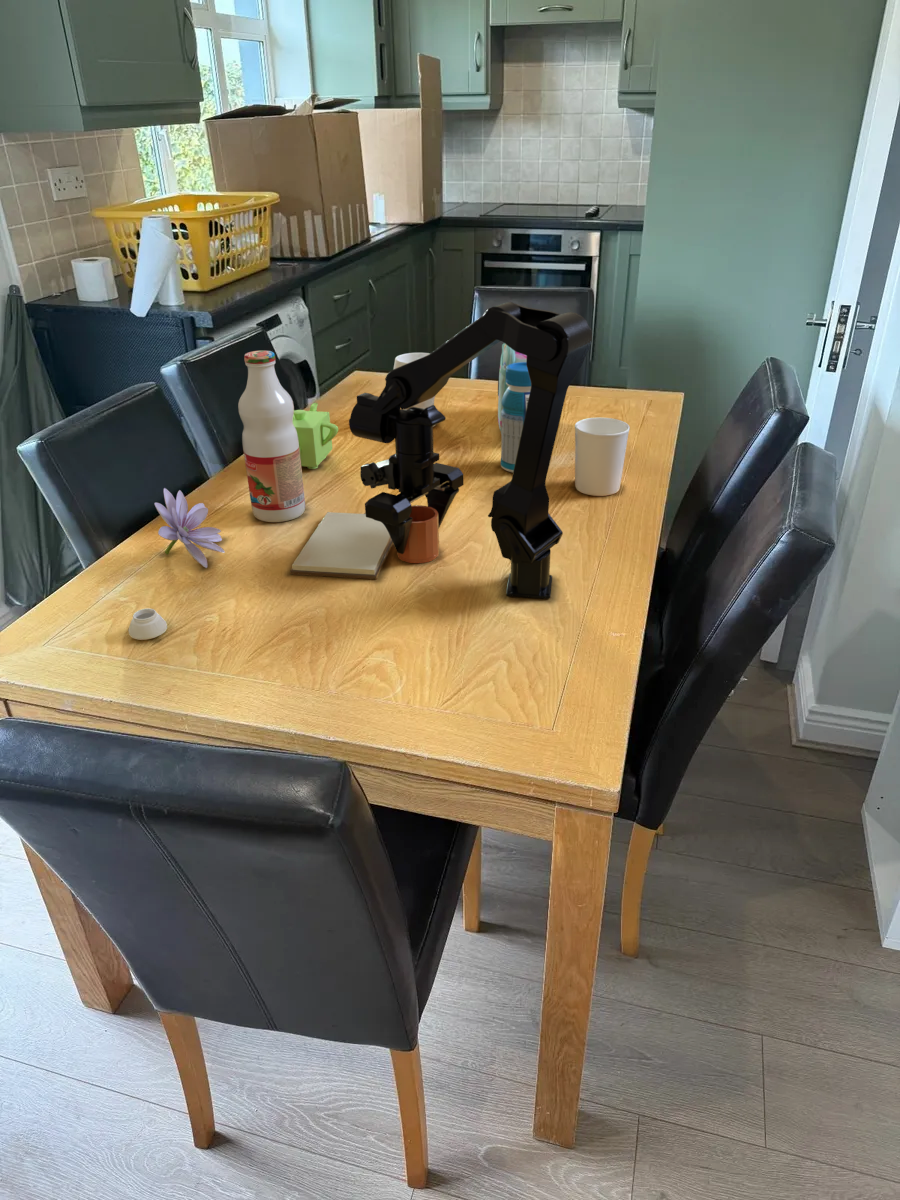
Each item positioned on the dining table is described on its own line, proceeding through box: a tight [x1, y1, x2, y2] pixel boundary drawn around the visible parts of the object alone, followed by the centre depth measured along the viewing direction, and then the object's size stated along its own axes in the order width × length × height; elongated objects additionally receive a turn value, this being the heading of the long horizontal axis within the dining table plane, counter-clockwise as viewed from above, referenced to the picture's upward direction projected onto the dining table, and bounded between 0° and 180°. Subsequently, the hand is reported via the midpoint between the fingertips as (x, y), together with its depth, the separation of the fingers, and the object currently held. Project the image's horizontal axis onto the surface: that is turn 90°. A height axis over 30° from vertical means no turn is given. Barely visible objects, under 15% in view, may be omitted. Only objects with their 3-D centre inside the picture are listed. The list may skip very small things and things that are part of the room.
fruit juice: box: [237, 350, 306, 523], centre depth 143 cm, size 9×9×28 cm
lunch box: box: [497, 342, 527, 435], centre depth 184 cm, size 27×10×21 cm, turn 178°
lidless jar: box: [127, 607, 168, 641], centre depth 115 cm, size 5×3×5 cm
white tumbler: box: [574, 416, 631, 497], centre depth 155 cm, size 10×10×12 cm
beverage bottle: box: [500, 362, 531, 474], centre depth 163 cm, size 8×8×20 cm
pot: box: [396, 504, 440, 564], centre depth 134 cm, size 7×7×7 cm
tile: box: [289, 511, 394, 580], centre depth 137 cm, size 21×14×2 cm, turn 171°
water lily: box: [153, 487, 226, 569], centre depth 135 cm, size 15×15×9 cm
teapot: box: [293, 402, 339, 470], centre depth 169 cm, size 15×13×11 cm
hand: (417, 542), depth 134 cm, fingers open, 9 cm apart
